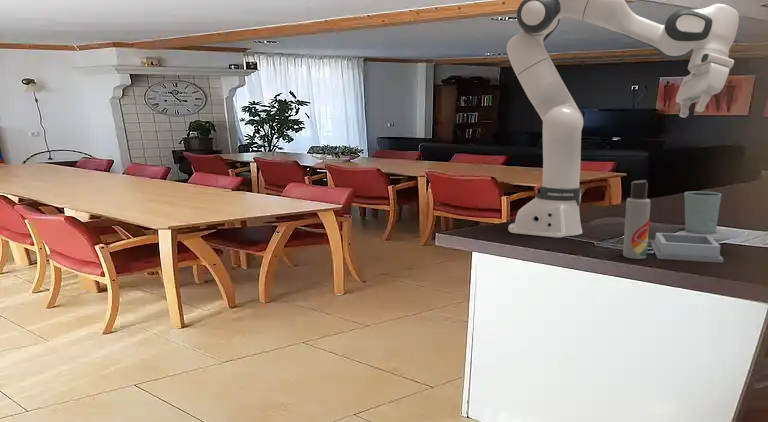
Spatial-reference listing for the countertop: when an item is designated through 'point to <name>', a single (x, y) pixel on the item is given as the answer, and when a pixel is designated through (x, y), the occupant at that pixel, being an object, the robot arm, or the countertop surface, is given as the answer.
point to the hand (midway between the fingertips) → (690, 114)
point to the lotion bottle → (637, 221)
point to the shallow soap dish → (687, 247)
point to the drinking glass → (701, 211)
